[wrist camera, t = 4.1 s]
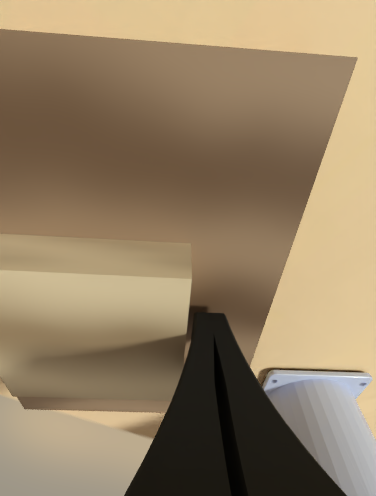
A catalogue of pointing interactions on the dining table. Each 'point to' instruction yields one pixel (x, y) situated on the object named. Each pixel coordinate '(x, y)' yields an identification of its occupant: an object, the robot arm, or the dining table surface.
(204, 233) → the walnut board
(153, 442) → the robot arm
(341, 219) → the dining table surface
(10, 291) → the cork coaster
